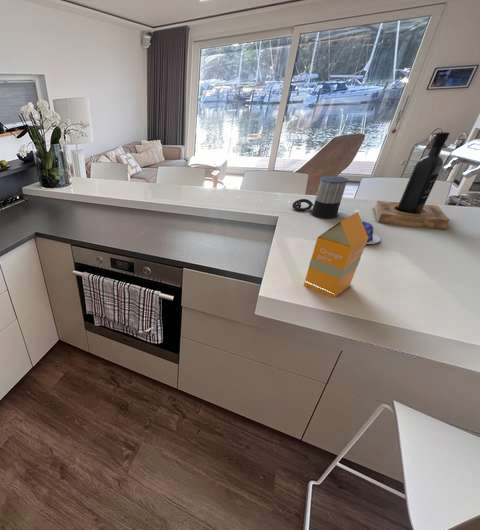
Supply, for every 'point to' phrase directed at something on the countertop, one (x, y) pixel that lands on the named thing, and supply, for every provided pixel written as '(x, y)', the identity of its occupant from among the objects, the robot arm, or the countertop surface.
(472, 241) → the countertop surface
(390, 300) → the countertop surface
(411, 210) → the wine bottle
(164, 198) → the countertop surface
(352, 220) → the orange juice
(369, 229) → the pudding
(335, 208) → the milk frother
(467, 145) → the robot arm
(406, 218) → the bottle stand
